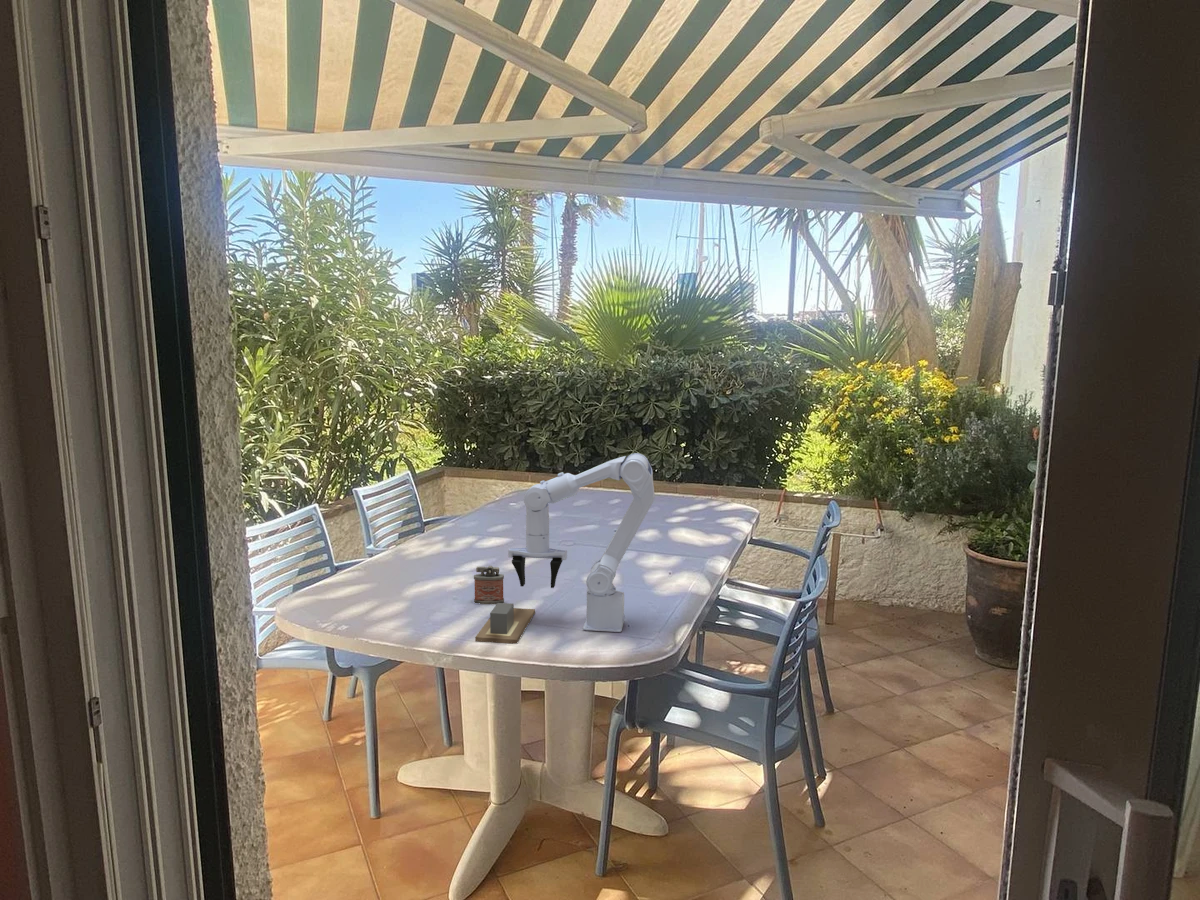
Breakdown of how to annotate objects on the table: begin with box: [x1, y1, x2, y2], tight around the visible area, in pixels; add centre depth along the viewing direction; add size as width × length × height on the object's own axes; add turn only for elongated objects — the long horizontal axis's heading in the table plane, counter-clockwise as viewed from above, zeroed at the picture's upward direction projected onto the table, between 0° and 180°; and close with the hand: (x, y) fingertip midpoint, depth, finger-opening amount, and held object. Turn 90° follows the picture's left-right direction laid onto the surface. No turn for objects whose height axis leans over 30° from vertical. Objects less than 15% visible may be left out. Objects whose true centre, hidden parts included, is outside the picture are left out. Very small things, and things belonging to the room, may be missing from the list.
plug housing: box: [489, 602, 515, 634], centre depth 175 cm, size 4×7×5 cm, turn 174°
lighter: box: [473, 565, 505, 605], centre depth 196 cm, size 8×3×10 cm, turn 92°
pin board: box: [474, 607, 536, 644], centre depth 180 cm, size 10×20×3 cm, turn 173°
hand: (537, 585), depth 182 cm, fingers open, 7 cm apart
